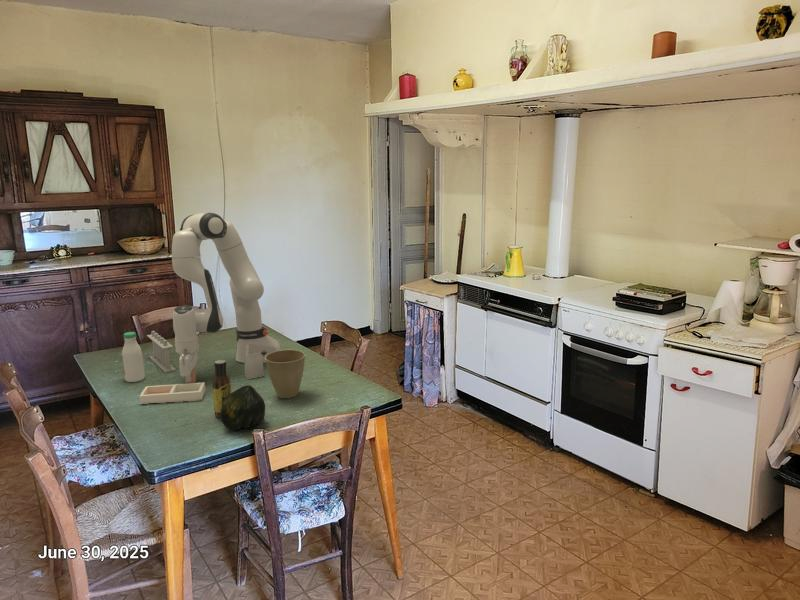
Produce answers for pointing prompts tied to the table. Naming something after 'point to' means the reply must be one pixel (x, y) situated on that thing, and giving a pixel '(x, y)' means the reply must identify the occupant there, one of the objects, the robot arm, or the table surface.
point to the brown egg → (192, 377)
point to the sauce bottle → (220, 386)
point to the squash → (243, 408)
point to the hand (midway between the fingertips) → (190, 378)
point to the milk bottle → (132, 359)
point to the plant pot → (285, 371)
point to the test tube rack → (161, 352)
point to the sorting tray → (172, 393)
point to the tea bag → (253, 366)
